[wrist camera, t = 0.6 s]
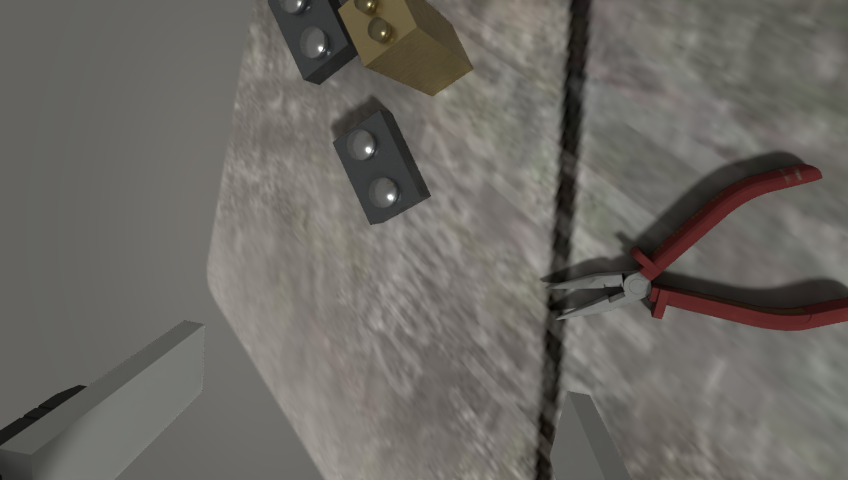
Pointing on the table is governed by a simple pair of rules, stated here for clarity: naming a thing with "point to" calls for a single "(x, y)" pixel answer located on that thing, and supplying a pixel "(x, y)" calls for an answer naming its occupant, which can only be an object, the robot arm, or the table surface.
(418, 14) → the link block
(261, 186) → the table surface
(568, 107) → the table surface
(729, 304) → the pliers
